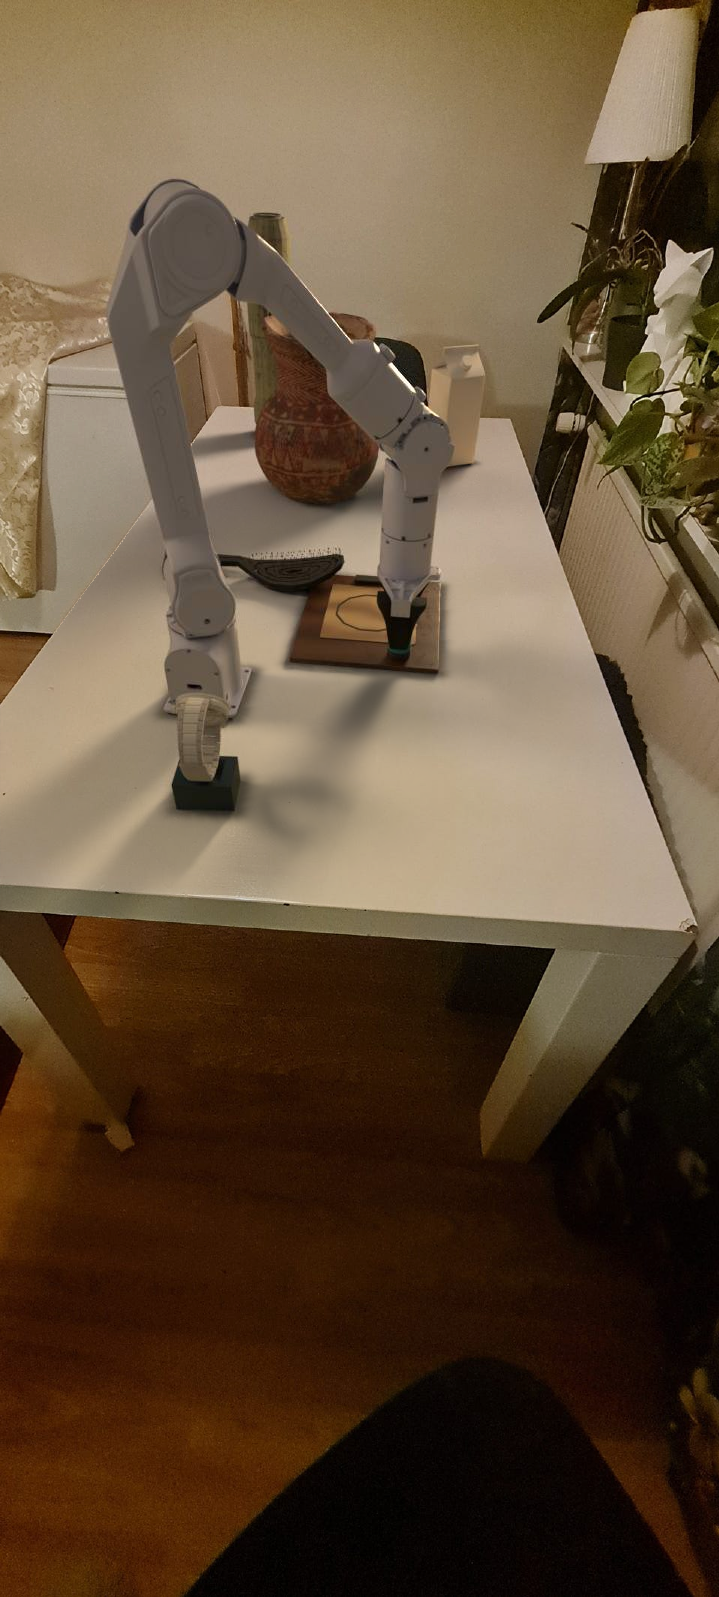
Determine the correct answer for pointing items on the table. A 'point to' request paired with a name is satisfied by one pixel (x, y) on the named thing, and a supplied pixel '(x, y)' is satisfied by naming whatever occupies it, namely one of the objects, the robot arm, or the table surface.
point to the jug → (311, 423)
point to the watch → (203, 755)
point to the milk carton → (459, 398)
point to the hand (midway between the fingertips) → (399, 640)
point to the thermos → (265, 371)
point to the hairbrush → (288, 569)
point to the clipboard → (362, 627)
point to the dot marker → (399, 653)
